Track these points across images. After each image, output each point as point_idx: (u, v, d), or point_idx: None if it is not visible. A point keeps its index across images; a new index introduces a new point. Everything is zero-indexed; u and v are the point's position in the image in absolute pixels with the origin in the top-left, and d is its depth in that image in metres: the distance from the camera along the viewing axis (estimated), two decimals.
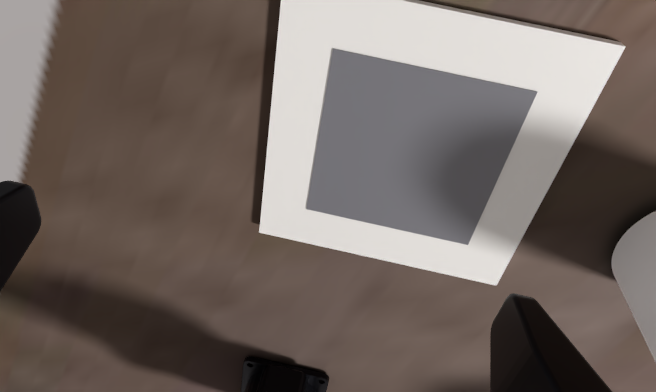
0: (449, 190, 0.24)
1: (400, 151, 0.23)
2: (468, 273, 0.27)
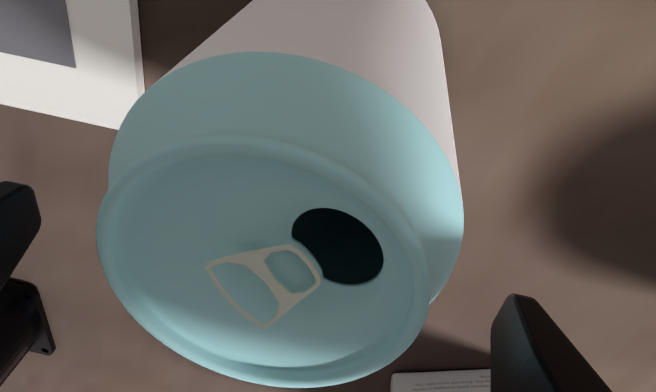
0: None
1: None
2: (100, 117, 0.20)
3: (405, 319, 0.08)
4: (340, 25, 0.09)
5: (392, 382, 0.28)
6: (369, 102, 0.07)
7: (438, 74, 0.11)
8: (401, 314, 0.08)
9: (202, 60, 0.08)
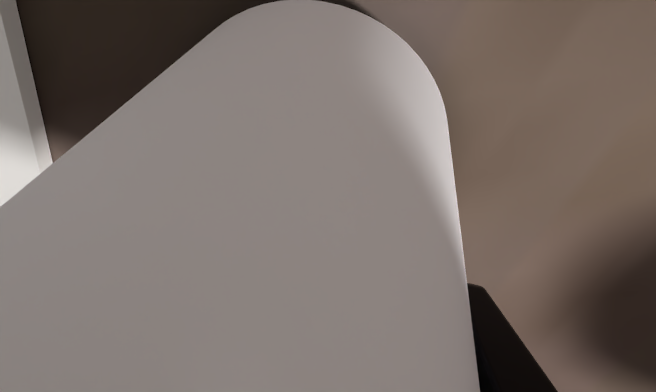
0: None
1: None
2: None
3: None
4: (240, 216, 0.04)
5: None
6: None
7: (448, 238, 0.06)
8: None
9: None
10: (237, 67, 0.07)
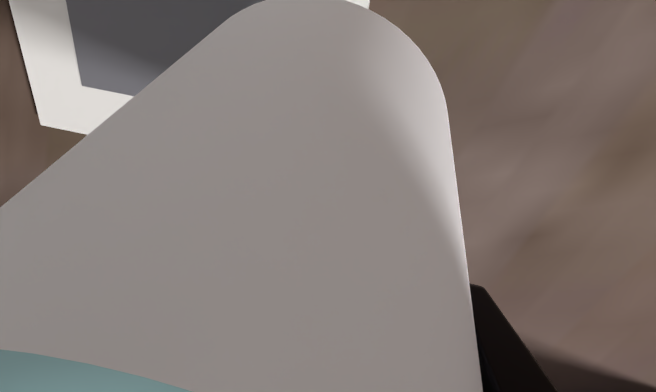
0: None
1: None
2: None
3: None
4: (254, 188, 0.04)
5: None
6: None
7: (448, 219, 0.07)
8: None
9: None
10: (246, 57, 0.07)
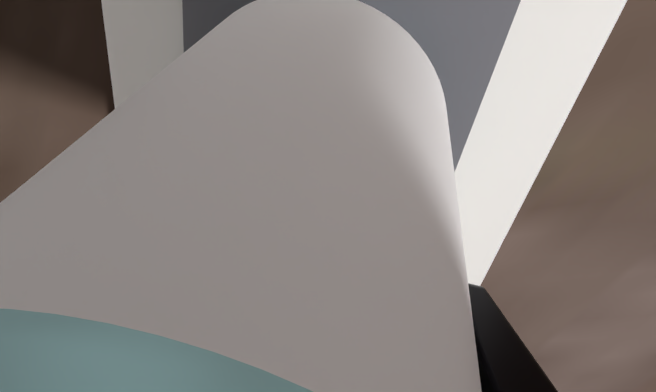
0: None
1: None
2: None
3: None
4: (260, 171, 0.05)
5: None
6: None
7: (446, 205, 0.07)
8: None
9: None
10: (249, 49, 0.07)
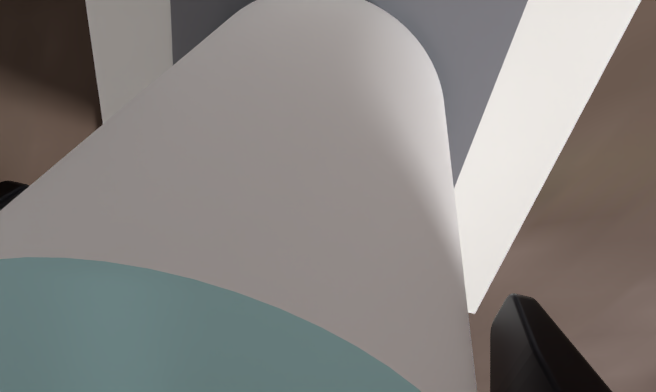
0: None
1: None
2: None
3: None
4: (272, 149, 0.05)
5: None
6: (297, 374, 0.03)
7: (441, 187, 0.07)
8: None
9: None
10: (259, 42, 0.08)
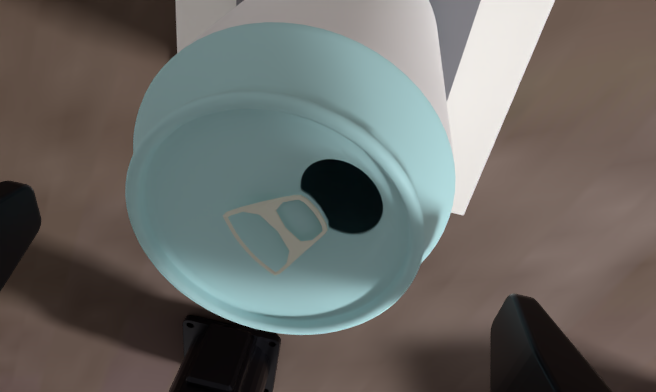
0: None
1: None
2: None
3: (403, 264, 0.09)
4: (343, 2, 0.10)
5: None
6: (368, 66, 0.08)
7: (433, 51, 0.12)
8: (399, 260, 0.09)
9: (220, 31, 0.09)
10: None
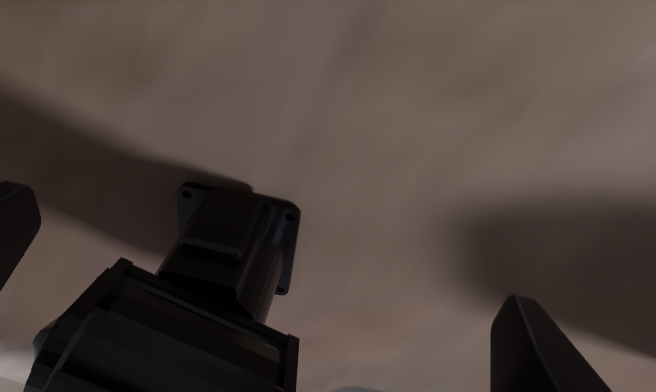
0: None
1: None
2: None
3: None
4: None
5: None
6: None
7: None
8: None
9: None
10: None
